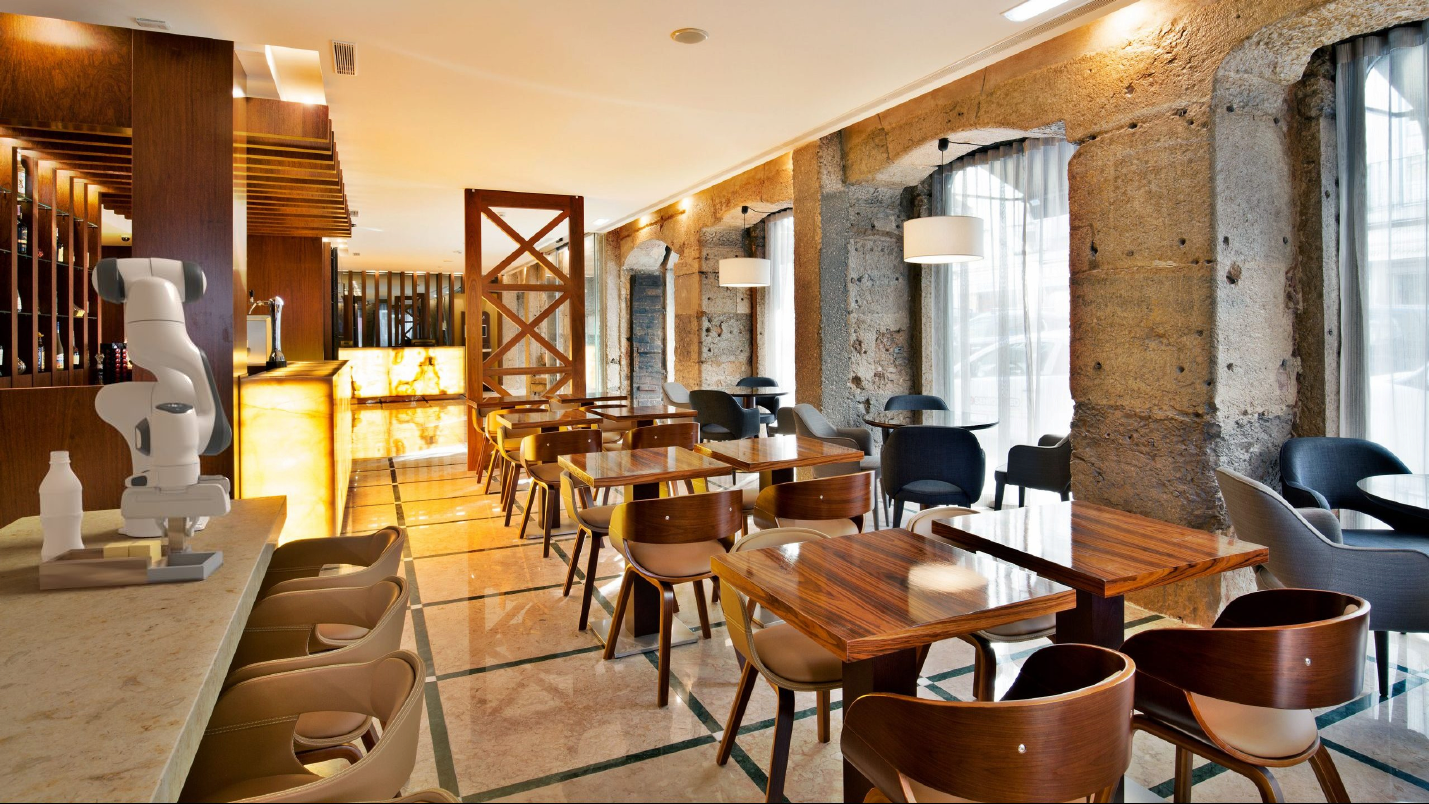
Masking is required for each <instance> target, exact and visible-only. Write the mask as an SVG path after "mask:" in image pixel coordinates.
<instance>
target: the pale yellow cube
mask: <svg viewBox="0 0 1429 804" xmlns="http://www.w3.org/2000/svg"><path fill="white" fill-rule="evenodd" d="M161 545H162V541H161V539H160V540H159V539H158V540H156V539H155V540H139V541H136V542H133V544H131V545H129V557H144V556H152V563H153V562H156V561H158V560H160V559H161Z"/></svg>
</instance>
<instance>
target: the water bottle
mask: <svg viewBox="0 0 1429 804" xmlns="http://www.w3.org/2000/svg"><path fill="white" fill-rule="evenodd" d="M69 455H70V454H69V451H67V450H55V451H51V452H50V455H49V456H50V459H49V460H50V461H49V462H48V463H49V465H50V466H49V470H48V472H47V473H46V476H45V477H44V478H43V480H42V481H41V483H40V485H39V489H38V494H39V507H40V511H39V512H40V514H39V521H40V524H41V526H42V529H43V545H42V548H41V550H40V556H41V561H42V563H44V562H46V561H48V560H50V559H52V558H54V557H56V556H58V555H60V554H62V553H64V552H66V551H68V550H71V549H85V545H84V544H83V540H82V534H81V533H82V532H81V527H82V522H83V518H84V510H83V495H82V494H83V493H82V491H83V486H82V483H81V481H80V480H79V478H78V477H77V475H76V474H75V472H73V470H72V468H71V466H70V463H71V460H70V459H71V458H70V457H69Z"/></svg>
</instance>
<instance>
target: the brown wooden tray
mask: <svg viewBox="0 0 1429 804" xmlns="http://www.w3.org/2000/svg"><path fill="white" fill-rule="evenodd" d="M103 548H104V547H92V548H89V547H88V548H84V549H71V550H68V551H66V552H64V553H62V554H60V555H58V556H56V557H54V558H52V559H50V560H48V561H46V562H44V563H43V562H42V563H40V564H39V565H38V573H39V590H40V591H43V590H55V589H57V590H58V589H59V590H61V589H76V588H90V587H108V586H109V587H110V586H125V585H127V586H128V585H142V584H143V585H144V584H148V583H147V569H148V568H156V567H168V566H169V554H170V545H169V544H161V559H160V560H158V561H156V562H153V563H152V556H144V557H124V558H104V550H103Z"/></svg>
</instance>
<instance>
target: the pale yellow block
mask: <svg viewBox="0 0 1429 804" xmlns="http://www.w3.org/2000/svg"><path fill="white" fill-rule="evenodd" d="M133 543H134V541H120V542H117V541H116V542H109V543H108V544H107V545H105V546H103V547H102V548H103V550H104V558H124V557H129V545H131V544H133Z"/></svg>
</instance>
